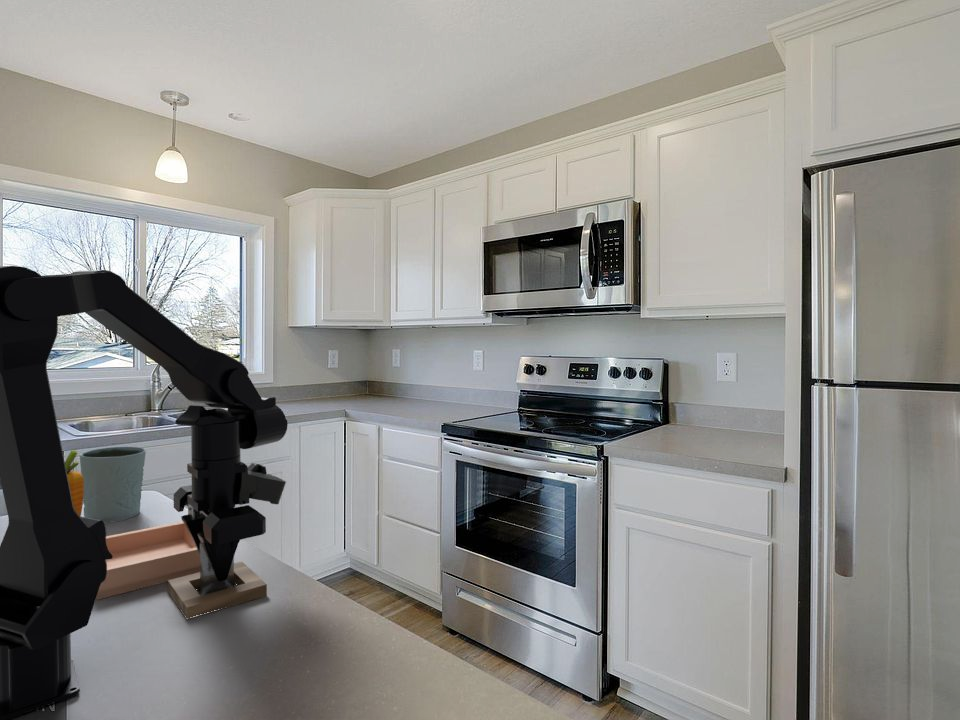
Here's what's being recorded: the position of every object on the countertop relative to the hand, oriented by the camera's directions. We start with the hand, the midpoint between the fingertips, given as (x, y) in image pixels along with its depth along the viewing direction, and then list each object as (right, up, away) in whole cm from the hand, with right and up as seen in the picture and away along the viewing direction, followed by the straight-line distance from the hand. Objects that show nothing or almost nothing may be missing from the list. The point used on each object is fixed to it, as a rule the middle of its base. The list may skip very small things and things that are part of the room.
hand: (217, 574), depth 71 cm
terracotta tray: (-14, -2, +8) cm, 16 cm away
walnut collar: (0, -3, 0) cm, 2 cm away
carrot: (-32, -2, +17) cm, 37 cm away
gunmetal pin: (0, -3, 0) cm, 2 cm away
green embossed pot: (-34, -1, +30) cm, 45 cm away
